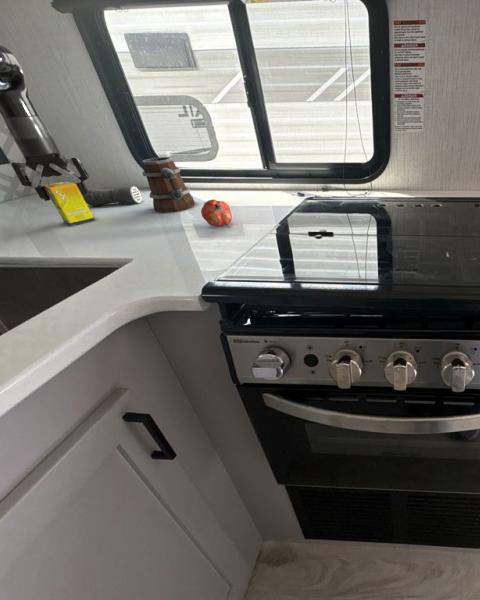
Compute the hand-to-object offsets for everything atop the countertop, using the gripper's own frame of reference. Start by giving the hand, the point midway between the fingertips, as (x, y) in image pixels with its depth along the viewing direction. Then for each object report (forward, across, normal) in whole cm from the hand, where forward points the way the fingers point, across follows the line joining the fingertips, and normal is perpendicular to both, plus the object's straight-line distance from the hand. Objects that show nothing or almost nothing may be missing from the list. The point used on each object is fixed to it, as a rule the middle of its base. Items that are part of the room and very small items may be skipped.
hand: (66, 197), depth 96 cm
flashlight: (+7, -7, -17) cm, 20 cm away
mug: (+7, -26, +1) cm, 27 cm away
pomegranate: (+7, -37, +27) cm, 46 cm away
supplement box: (+7, 0, 0) cm, 7 cm away
